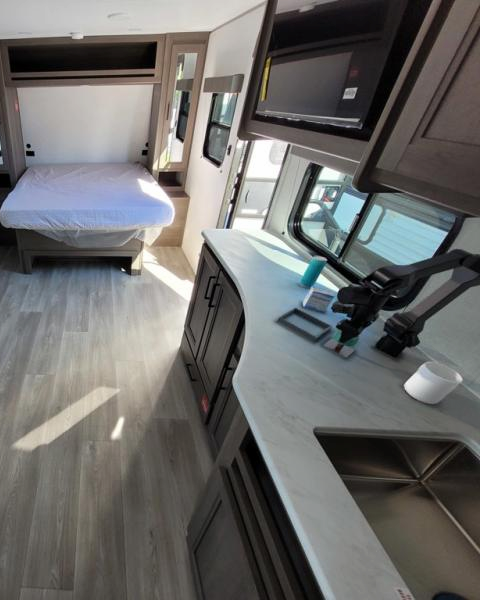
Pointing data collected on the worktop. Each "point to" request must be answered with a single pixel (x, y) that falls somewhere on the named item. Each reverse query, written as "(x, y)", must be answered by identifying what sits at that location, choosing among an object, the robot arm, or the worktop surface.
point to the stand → (339, 348)
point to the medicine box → (318, 299)
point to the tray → (301, 331)
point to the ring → (347, 343)
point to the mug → (432, 382)
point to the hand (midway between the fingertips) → (344, 339)
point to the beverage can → (313, 271)
